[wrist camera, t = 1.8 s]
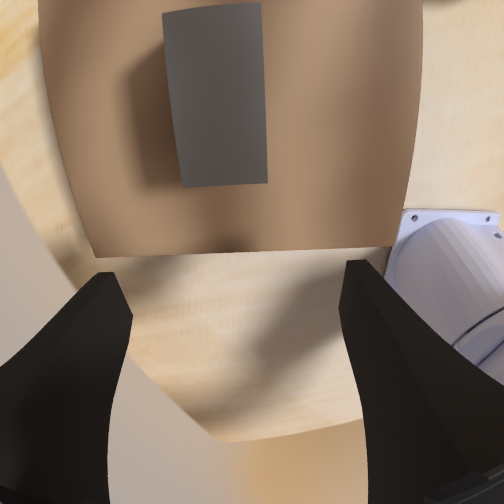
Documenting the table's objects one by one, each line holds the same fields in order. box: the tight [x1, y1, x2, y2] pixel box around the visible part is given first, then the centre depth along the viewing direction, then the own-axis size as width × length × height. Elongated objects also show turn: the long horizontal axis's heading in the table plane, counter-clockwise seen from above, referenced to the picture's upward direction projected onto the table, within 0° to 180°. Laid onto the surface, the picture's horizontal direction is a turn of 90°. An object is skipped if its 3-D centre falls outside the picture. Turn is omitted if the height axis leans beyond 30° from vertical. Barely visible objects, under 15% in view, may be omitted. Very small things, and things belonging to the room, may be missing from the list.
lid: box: [38, 0, 423, 258], centre depth 9 cm, size 15×15×4 cm
